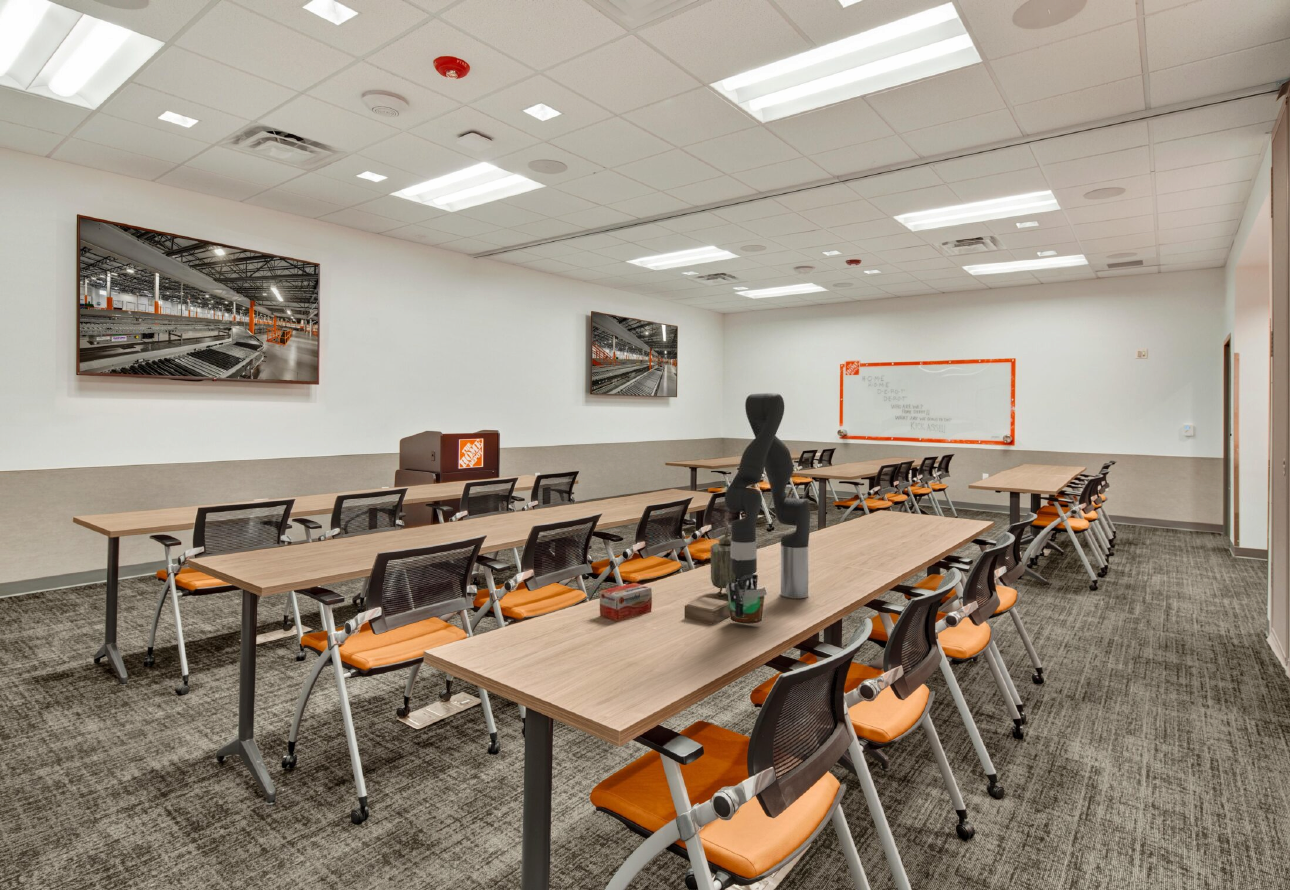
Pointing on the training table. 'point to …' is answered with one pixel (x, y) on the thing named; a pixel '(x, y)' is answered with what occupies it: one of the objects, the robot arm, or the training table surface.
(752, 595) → the food container
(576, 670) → the training table surface
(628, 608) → the medicine box
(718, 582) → the tabletop clock
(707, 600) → the plinth
